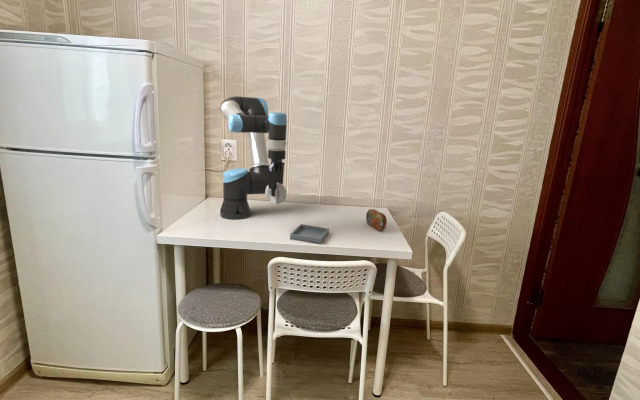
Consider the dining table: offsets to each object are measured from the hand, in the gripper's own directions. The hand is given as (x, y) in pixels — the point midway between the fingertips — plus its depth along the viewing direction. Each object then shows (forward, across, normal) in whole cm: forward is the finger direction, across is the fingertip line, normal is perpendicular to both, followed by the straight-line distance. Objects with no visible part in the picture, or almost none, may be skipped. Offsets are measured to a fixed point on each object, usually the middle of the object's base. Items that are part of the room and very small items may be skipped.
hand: (275, 201), depth 152 cm
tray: (+13, -1, -17) cm, 22 cm away
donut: (+1, 0, 0) cm, 1 cm away
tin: (+14, +24, -43) cm, 51 cm away
